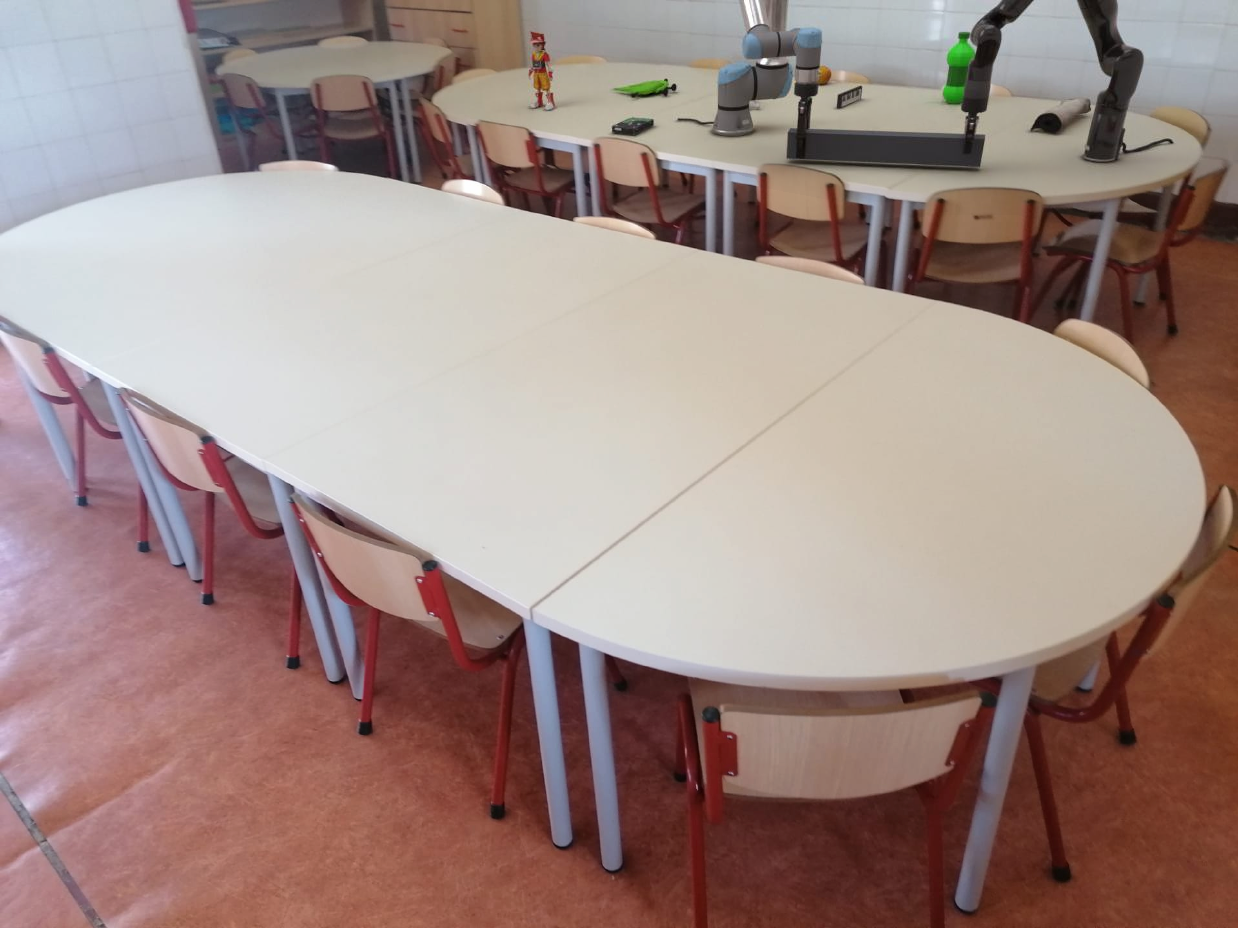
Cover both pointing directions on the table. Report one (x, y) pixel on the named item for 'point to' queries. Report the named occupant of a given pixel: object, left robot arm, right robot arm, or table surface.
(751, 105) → the anatomical model
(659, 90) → the toy
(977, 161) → the beam
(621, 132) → the disk drive
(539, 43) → the toy
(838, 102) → the midi keyboard
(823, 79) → the fruit
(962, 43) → the plastic bottle
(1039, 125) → the rolled mat
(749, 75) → the left robot arm
